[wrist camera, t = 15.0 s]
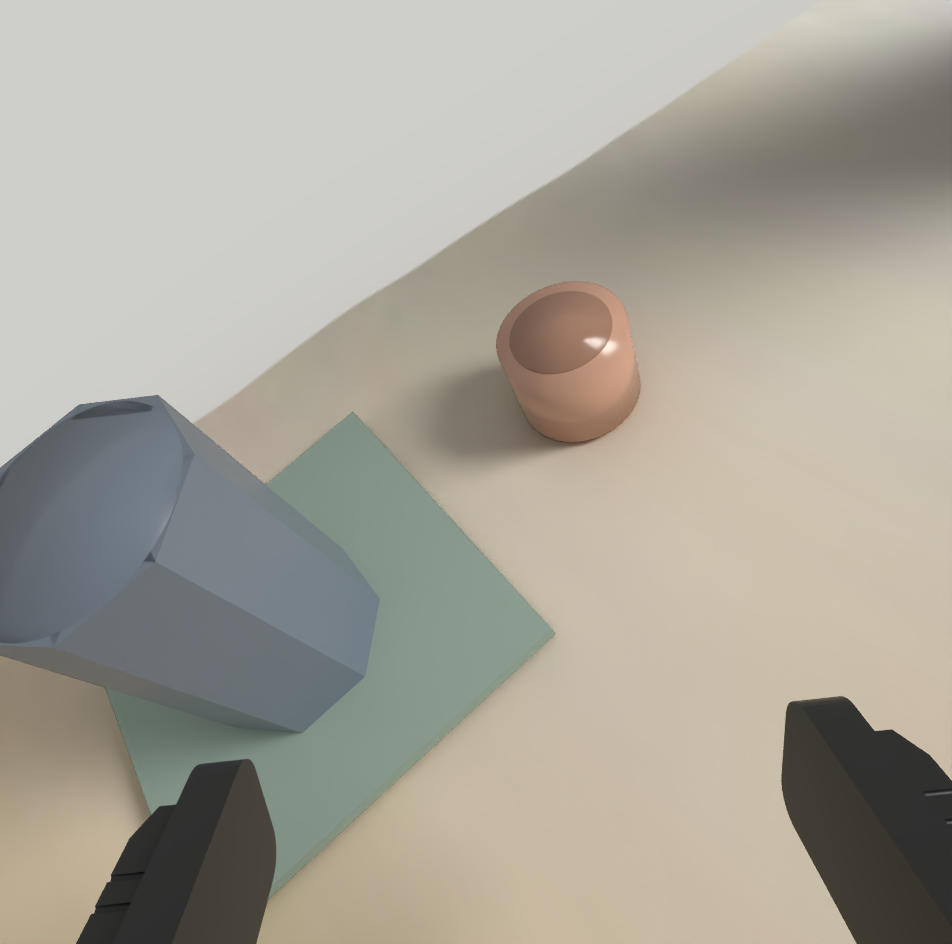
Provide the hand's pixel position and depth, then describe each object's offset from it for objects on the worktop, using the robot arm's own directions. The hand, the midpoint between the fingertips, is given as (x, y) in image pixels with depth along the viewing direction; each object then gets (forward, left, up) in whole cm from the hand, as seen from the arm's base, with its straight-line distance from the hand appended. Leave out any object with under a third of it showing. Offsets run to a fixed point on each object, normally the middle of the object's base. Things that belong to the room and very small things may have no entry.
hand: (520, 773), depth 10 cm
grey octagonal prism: (+5, -12, -10) cm, 16 cm away
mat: (+5, -12, -11) cm, 17 cm away
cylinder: (-9, -12, -11) cm, 18 cm away
